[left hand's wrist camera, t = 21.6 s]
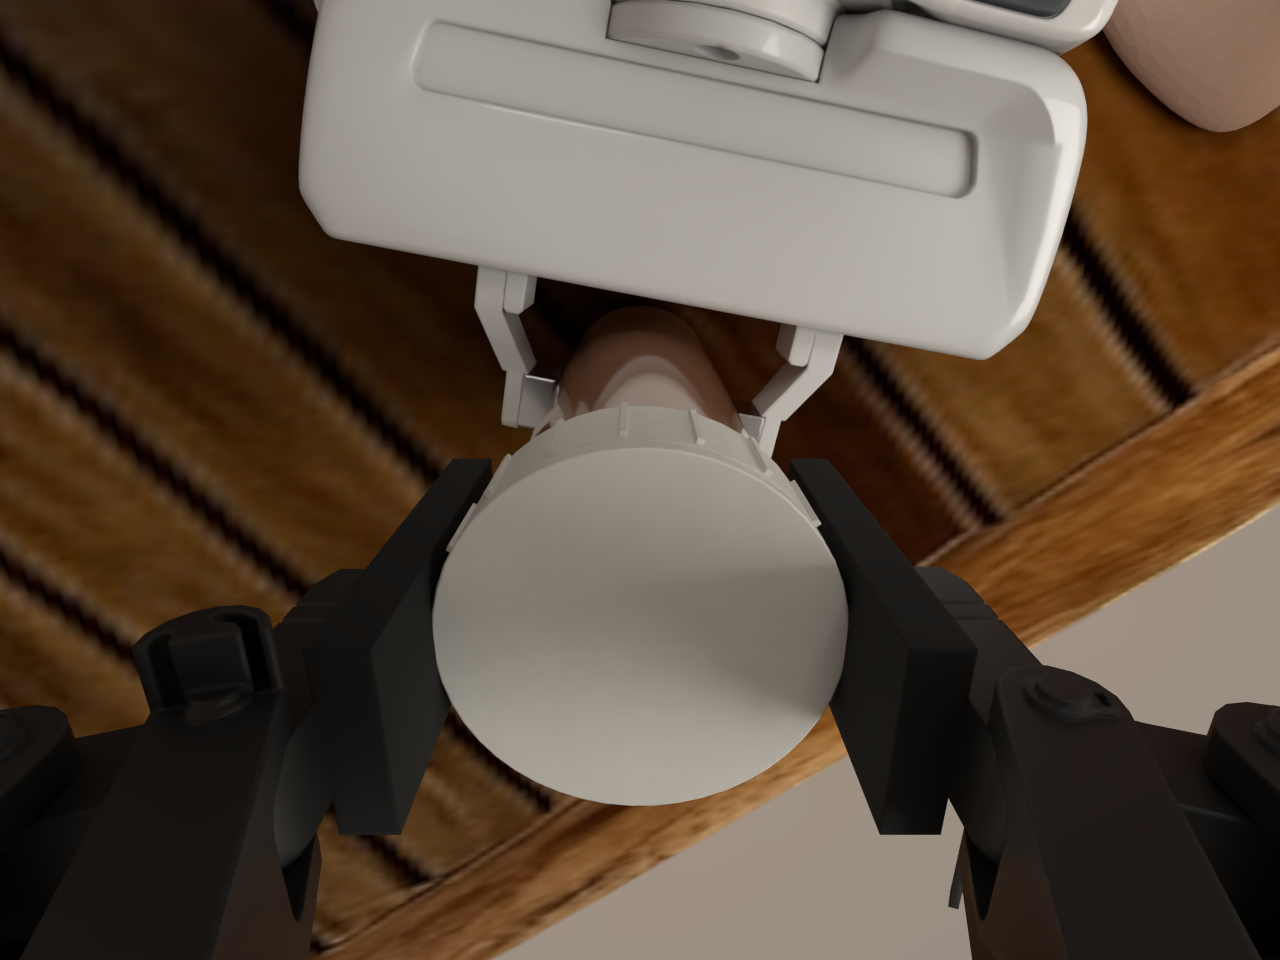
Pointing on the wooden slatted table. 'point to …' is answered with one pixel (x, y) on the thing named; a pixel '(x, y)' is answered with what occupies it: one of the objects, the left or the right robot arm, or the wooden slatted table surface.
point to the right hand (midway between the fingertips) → (636, 444)
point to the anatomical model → (1203, 56)
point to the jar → (640, 370)
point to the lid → (640, 609)
